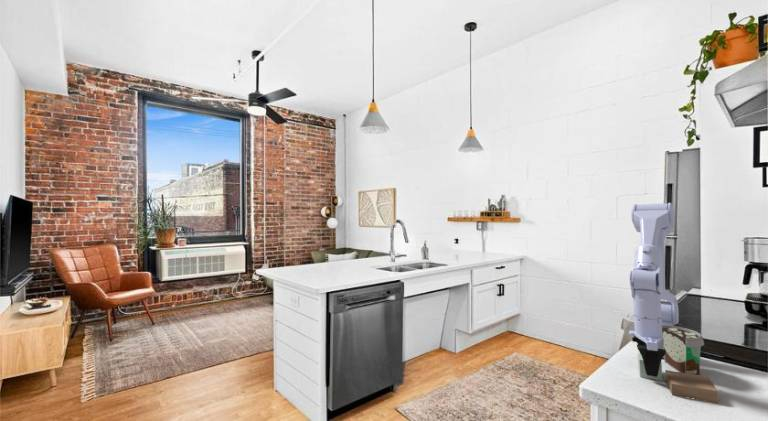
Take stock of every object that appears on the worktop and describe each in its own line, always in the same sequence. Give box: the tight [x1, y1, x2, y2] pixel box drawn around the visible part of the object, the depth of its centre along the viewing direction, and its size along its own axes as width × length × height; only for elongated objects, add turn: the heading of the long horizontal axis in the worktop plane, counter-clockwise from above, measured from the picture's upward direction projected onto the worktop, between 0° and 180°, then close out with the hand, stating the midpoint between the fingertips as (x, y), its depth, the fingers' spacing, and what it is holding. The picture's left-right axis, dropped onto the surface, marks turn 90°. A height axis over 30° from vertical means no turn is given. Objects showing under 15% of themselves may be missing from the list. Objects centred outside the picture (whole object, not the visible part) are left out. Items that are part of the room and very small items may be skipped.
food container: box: [662, 325, 705, 375], centre depth 95 cm, size 12×6×10 cm, turn 168°
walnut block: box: [665, 369, 720, 404], centre depth 84 cm, size 8×8×3 cm
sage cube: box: [637, 353, 663, 381], centre depth 93 cm, size 4×4×4 cm
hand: (649, 369), depth 93 cm, fingers open, 7 cm apart
